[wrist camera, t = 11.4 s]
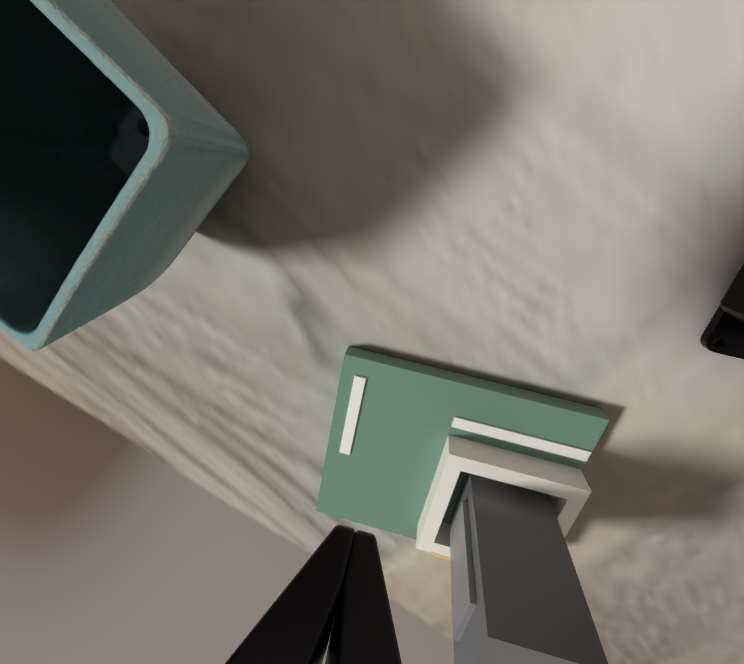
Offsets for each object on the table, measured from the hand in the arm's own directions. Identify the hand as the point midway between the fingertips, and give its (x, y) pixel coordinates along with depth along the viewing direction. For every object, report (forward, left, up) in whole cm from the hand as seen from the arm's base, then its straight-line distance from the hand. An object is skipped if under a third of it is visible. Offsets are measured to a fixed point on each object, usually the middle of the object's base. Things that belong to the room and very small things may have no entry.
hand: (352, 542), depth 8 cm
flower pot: (+12, -6, -12) cm, 18 cm away
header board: (-4, +7, -12) cm, 14 cm away
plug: (-7, +8, -11) cm, 15 cm away
